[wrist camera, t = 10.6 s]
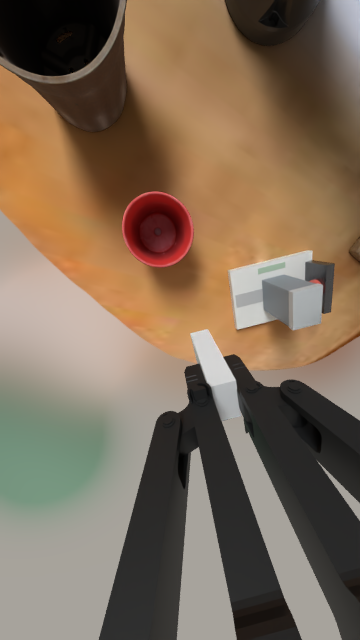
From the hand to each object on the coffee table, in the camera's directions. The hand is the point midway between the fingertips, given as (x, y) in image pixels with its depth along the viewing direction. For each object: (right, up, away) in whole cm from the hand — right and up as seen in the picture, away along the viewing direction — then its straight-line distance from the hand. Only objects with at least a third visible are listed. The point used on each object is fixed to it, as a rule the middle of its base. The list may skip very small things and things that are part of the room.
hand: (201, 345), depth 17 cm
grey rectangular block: (+19, +8, +28) cm, 35 cm away
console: (+19, +9, +29) cm, 36 cm away
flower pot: (-6, +19, +23) cm, 30 cm away
